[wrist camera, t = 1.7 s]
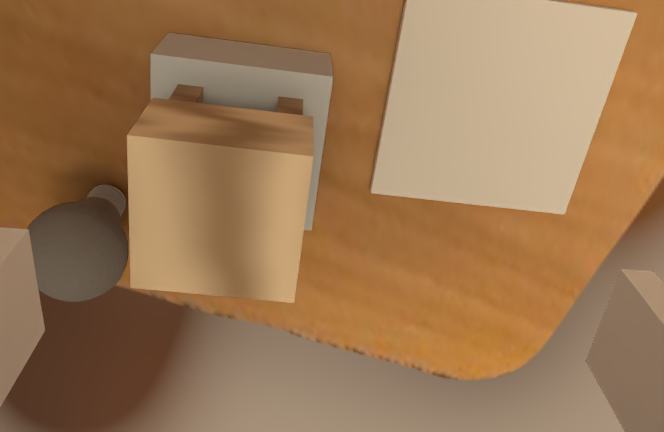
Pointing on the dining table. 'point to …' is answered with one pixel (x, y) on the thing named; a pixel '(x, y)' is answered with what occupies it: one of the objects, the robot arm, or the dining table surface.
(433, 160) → the mat
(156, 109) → the stool
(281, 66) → the gray square block
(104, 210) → the light bulb
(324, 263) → the dining table surface
